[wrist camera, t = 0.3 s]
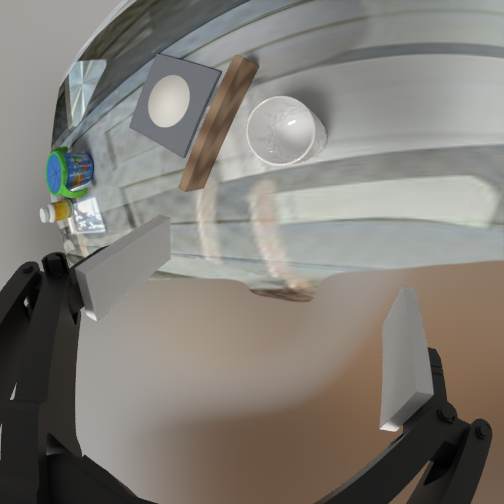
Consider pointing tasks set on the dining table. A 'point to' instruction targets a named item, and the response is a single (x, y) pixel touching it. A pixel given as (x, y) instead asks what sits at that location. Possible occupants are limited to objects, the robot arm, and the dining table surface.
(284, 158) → the white cup
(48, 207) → the supplement bottle
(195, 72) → the slate mat
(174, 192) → the dining table surface
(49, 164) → the snack cup
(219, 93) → the low wall
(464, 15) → the dining table surface
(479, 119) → the dining table surface
